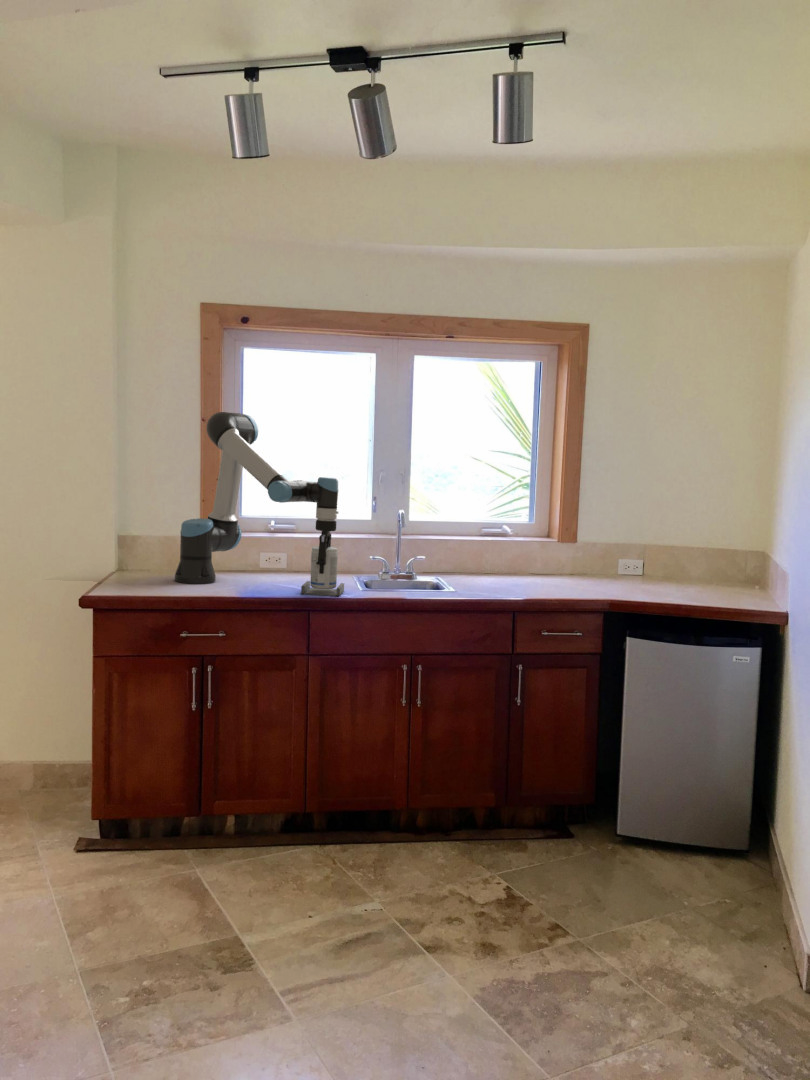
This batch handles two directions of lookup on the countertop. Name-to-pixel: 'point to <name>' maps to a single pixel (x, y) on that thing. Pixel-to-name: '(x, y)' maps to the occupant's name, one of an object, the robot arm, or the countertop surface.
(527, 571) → the countertop surface
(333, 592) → the end holder
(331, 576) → the supplement tub
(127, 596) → the countertop surface
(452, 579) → the countertop surface
